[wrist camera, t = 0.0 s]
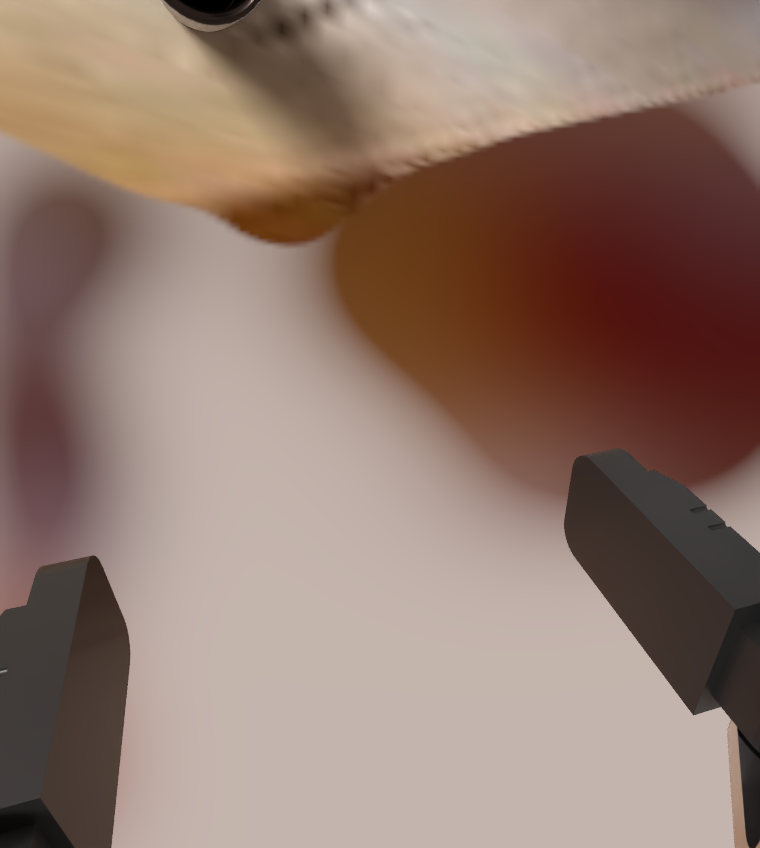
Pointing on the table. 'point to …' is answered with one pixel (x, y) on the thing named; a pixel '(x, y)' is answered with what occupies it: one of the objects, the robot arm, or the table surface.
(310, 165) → the table surface
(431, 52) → the table surface
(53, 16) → the table surface
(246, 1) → the planter
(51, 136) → the table surface
